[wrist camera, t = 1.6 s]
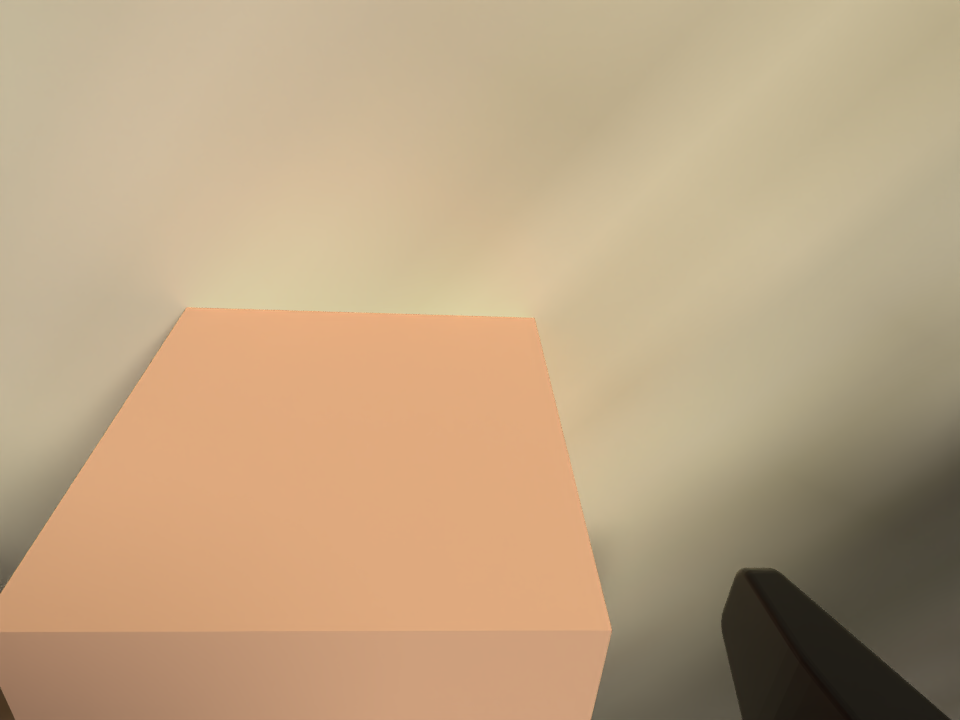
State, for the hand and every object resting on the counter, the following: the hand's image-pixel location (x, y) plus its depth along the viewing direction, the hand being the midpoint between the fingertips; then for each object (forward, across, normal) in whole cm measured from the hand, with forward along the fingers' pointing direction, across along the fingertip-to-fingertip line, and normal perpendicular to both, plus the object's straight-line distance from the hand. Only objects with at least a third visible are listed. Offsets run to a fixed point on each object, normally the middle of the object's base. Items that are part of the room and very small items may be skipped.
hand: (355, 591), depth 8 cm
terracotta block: (+3, 0, 0) cm, 3 cm away
